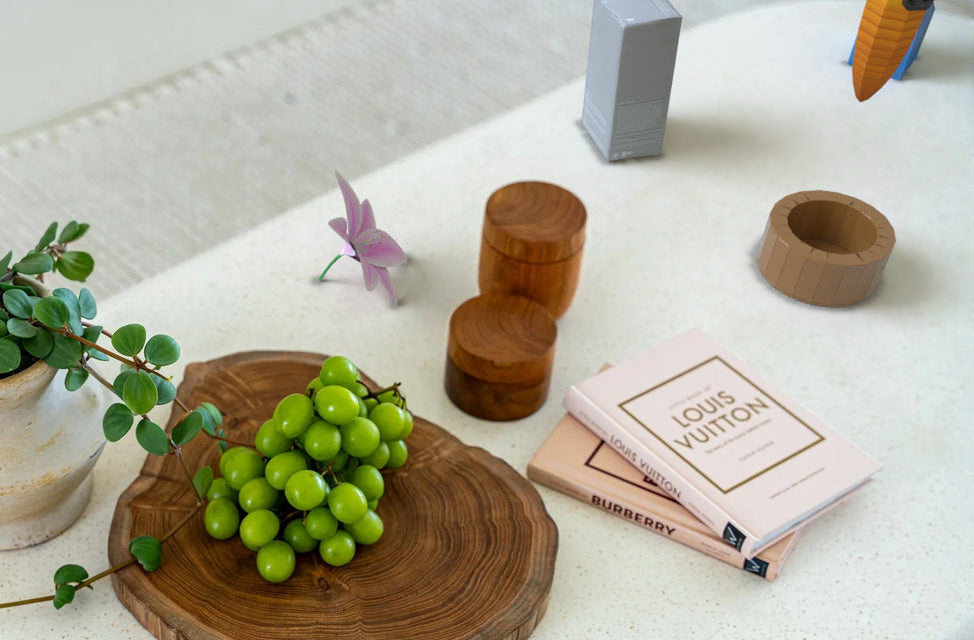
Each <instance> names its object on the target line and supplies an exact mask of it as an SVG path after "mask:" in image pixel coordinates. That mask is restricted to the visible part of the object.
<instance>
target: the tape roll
mask: <svg viewBox="0 0 974 640" xmlns="http://www.w3.org/2000/svg"><path fill="white" fill-rule="evenodd" d="M764 227H765V228H764V229H763V234H762V237H761V240H760V242H759V246H758V249H757V251H756V252H757V253H756V264H757V268H758V270H759V272H760V274H761V276H762V277H763V278H764V279H765V281H767V283H768V284H769V285H770V286H772V287H773V288H774V289H775V290H776V291H778V292H780V293H782V294H783V295H785V296H787V297H789V298H790V299H793V300H796V301H799V302H802V303H804V304H808V305H812V306H817V307H823V308H824V307H826V308H840V307H847V306H848V307H849V306H852V305H853V306H854V305H856V304H858V303H859V304H860V303H861V302H864V301H865V300H867V299H869V297H871V295H873V293H874V292H875V290H876V289H877V287H878V285H879V282H880V280H881V278H882V275H883V273H884V271H885V269H886V266H887V264H888V262H889V259H890V257H891V255H892V252H893V250H894V247H895V245H896V242H897V238H896V232H895V229H894V227H893V225H892V224H891V222H890V220H889V219H888V217H886V215H885V214H883V213H882V212H881V211H879V210H878V209H877V208H876V207H875V206H873V205H871V204H869V203H868V202H866V201H863V200H862V199H859V198H857V197H856V196H852V195H848V194H845V193H841V192H838V191H831V190H822V189H813V190H800V191H796V192H794V193H790V194H787V195H785V196H783V197H782V198H781V199H779V200H778V201H777V202H774V204H773V207H772V208H771V210H770V212H769V215H768V217H767V221H766V224H765V226H764Z"/></svg>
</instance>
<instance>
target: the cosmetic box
mask: <svg viewBox="0 0 974 640" xmlns="http://www.w3.org/2000/svg"><path fill="white" fill-rule="evenodd" d="M682 22H683V16H682V15H681V13H680V12H679V11H678V10H677V9H676V8H675V7H674V5H673V4H672V3H671V2H670V0H593V3H592V13H591V22H590V23H591V24H590V32H589V33H590V34H589V42H588V43H589V44H588V54H587V63H586V64H587V65H586V72H585V73H586V74H585V82H584V83H585V84H584V92H583V93H584V94H583V105H582V112H581V122H580V123H581V125H582V126H583V127H584V128H585V130H586V131H587V133H588V135H589V136H590V137H591V139H592V140H593V142H594V143H595V145H596V146H597V148H598V150H600V153H602V155H603V157H604V158H605V160H607V161H609V162H610V161H618V160H624V159H629V158H635V157H645V156H653V155H661V153H662V151H663V146H664V139H665V135H666V134H665V133H666V126H667V119H668V115H669V114H668V113H669V107H670V100H671V94H672V88H673V81H674V74H675V68H676V61H677V56H678V55H677V54H678V48H679V42H680V35H681V28H682V24H683V23H682Z"/></svg>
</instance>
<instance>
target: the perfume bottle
mask: <svg viewBox="0 0 974 640" xmlns="http://www.w3.org/2000/svg"><path fill="white" fill-rule="evenodd" d="M934 2H935V1H934ZM934 2H933V3H932V5H931V7H930V8H929V9H927V10H926V12H925V14H924V16H923V19H922V21H921V23H920V26H919V28H918V30H917V33H916V35H915V37H914V39H913V41H912V44H911V46H910V48H909V50H908V51H907V53H906V55H905V56H904V58H903V60H902V61H901V63H900V65H899V66H898V68H897V69H896V71H895V72H894V74H893V75H892V77H891V78H890V79H893V80H897V81H900V80H901V78H903V76H904V75H905V73H906V72H907V71H908V69H909V68H910V67H911V66H912V65H913V63H914V62H915V60H916V59H917V58H918V55H919V52H920V50H921V47H922V44H923V42H924V40H925V37H926V34H927V32H928V29H929V27H930V24H931V22H932V19H933V16H934V14H935V11H936V7H935V3H934ZM856 40H857V35H856V38H855V40H854V42H853V44H852V49H851V50H850V53H849V57H848V59H847V63H846V64H847V65H850V66H853V59H854V52H855V46H856Z"/></svg>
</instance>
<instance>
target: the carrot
mask: <svg viewBox="0 0 974 640" xmlns="http://www.w3.org/2000/svg"><path fill="white" fill-rule="evenodd" d="M925 12H926V10H918V11H907V10H906V9H905V8H904V6H903V5H902V0H866V1H865V5H864V8H863V11H862V15H861V19H860V22H859V25H858V29H857V34H856V36H857V40H856V46H855V52H854V59H853V65H852V68H851V75H852V86H853V90H854V96H855V99H857V101H858V102H859V103H863V102H865V101H868V100H870V99H871V98H872V97H873V96H875V94H876V93H878V92H879V91H880V90H881V89H882V88H883V87H884V86H885V85H886V84H887V82H889V80H891V79H892V78H891V77H892V75H893V74H894V72H895V71H896V69H897V68H898V66H899V65H900V63H901V61H902V60H903V58H904V56H905V55H906V53H907V51H908V50H909V48H910V46H911V44H912V41H913V39H914V37H915V35H916V33H917V30H918V28H919V26H920V23H921V21H922V19H923V16H924V14H925Z"/></svg>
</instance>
